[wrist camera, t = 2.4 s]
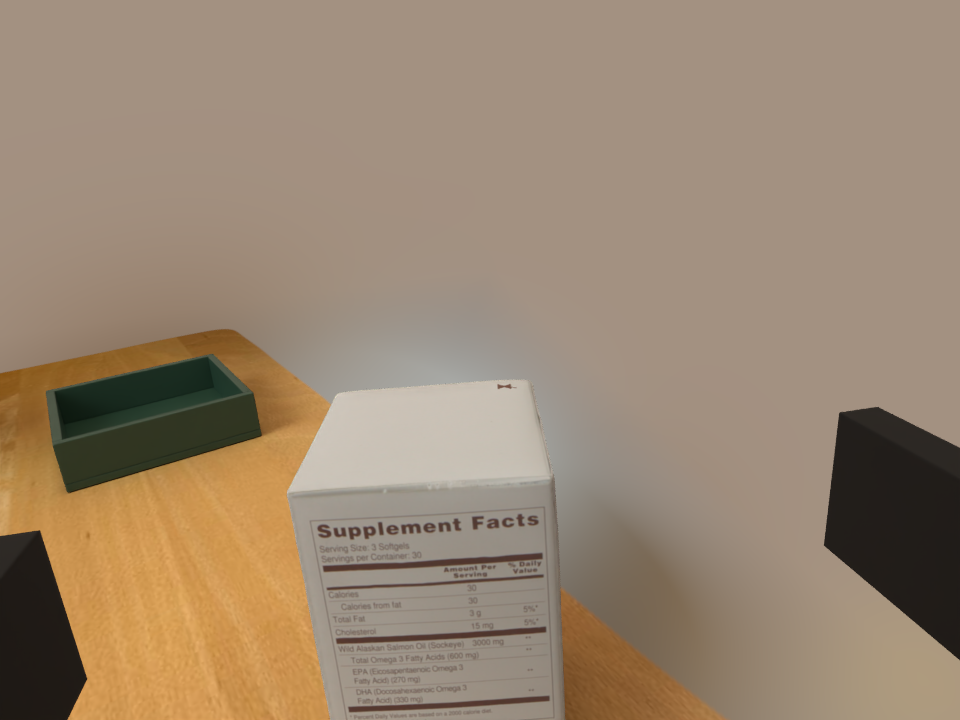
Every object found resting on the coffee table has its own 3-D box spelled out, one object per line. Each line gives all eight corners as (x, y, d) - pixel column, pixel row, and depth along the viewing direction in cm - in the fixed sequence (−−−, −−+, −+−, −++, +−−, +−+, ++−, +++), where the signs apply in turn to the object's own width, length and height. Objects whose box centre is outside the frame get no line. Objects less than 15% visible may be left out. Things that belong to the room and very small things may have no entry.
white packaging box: (377, 662, 29) (335, 387, 24) (550, 652, 28) (537, 373, 24) (343, 834, 22) (276, 489, 17) (573, 822, 21) (560, 471, 17)
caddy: (261, 435, 52) (253, 392, 51) (67, 493, 45) (52, 445, 44) (220, 390, 62) (212, 353, 61) (57, 430, 56) (45, 390, 55)
